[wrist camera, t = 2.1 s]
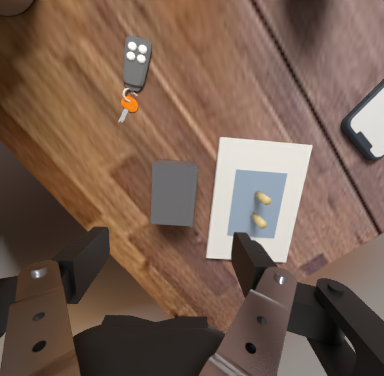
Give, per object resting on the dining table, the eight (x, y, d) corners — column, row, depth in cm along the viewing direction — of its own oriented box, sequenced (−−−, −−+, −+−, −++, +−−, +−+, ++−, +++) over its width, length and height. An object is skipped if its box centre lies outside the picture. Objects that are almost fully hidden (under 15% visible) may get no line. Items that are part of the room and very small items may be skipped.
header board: (205, 254, 33) (208, 271, 28) (219, 137, 28) (225, 136, 24) (282, 258, 34) (297, 276, 29) (308, 145, 29) (330, 145, 24)
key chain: (126, 37, 25) (123, 31, 24) (154, 45, 26) (152, 39, 24) (113, 134, 28) (109, 134, 27) (138, 140, 28) (136, 140, 27)
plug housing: (157, 208, 30) (150, 223, 25) (159, 159, 29) (152, 163, 23) (191, 210, 31) (192, 226, 25) (195, 162, 29) (198, 166, 23)
